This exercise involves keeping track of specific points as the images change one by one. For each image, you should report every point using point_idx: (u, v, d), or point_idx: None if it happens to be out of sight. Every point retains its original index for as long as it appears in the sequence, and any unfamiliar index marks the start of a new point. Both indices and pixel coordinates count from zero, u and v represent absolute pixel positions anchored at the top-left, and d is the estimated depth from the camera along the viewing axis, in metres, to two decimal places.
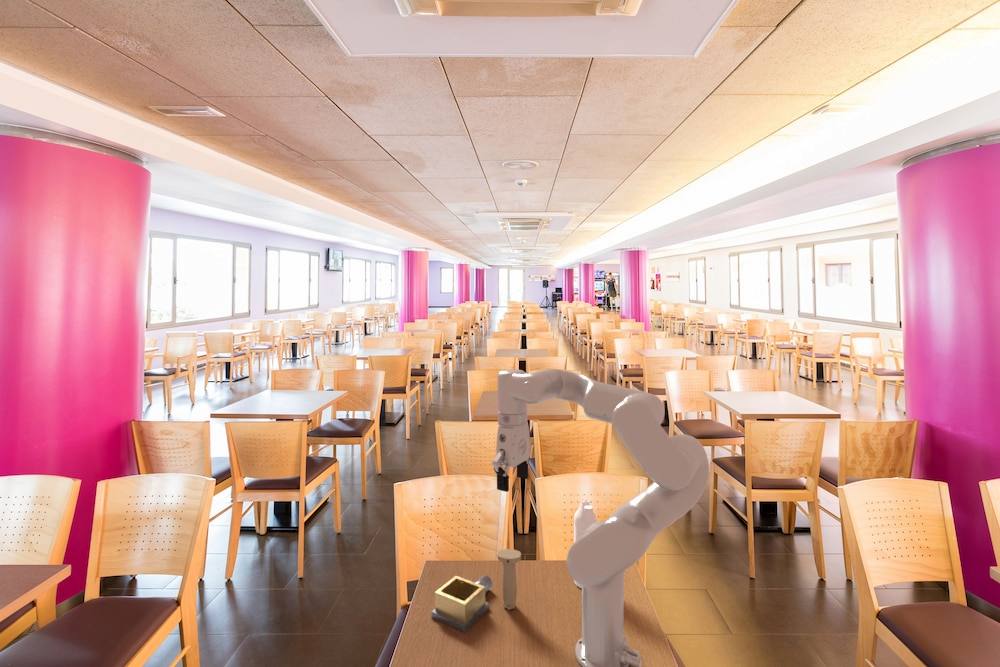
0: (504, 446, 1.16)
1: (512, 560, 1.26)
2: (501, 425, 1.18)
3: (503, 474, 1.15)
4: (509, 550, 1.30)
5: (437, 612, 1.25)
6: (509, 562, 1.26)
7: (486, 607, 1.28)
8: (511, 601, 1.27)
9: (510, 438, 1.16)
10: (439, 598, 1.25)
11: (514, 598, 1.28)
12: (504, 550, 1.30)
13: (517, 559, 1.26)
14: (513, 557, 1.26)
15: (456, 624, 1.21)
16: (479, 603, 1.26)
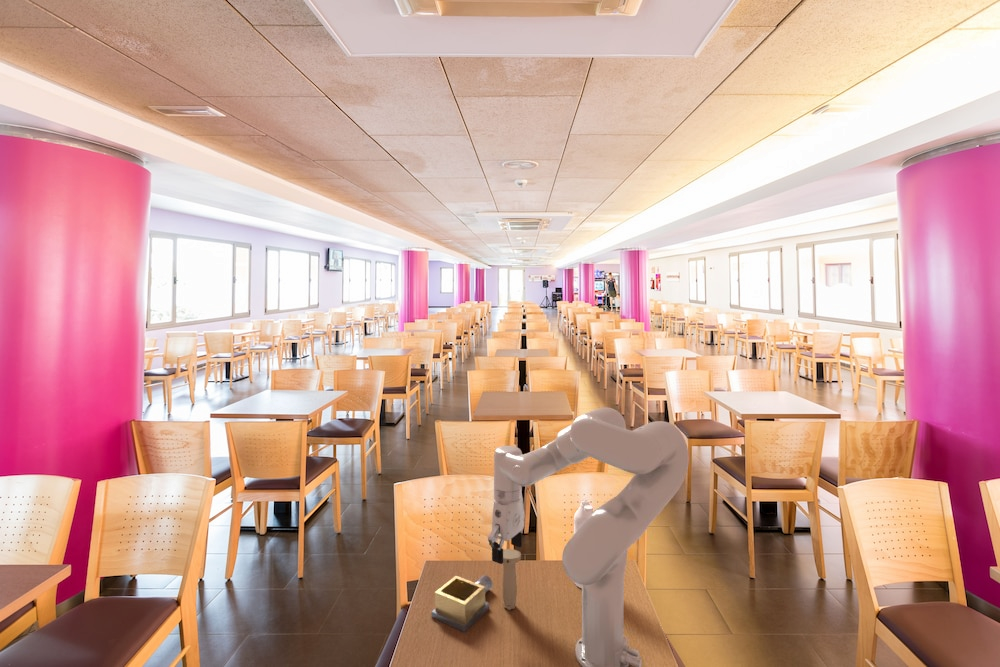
0: (499, 521, 1.23)
1: (512, 560, 1.26)
2: (497, 500, 1.25)
3: (498, 548, 1.23)
4: (509, 550, 1.30)
5: (437, 612, 1.25)
6: (509, 562, 1.26)
7: (486, 607, 1.28)
8: (511, 601, 1.27)
9: (505, 514, 1.23)
10: (439, 598, 1.25)
11: (514, 598, 1.28)
12: (504, 550, 1.30)
13: (517, 559, 1.26)
14: (513, 557, 1.26)
15: (456, 624, 1.21)
16: (479, 603, 1.26)
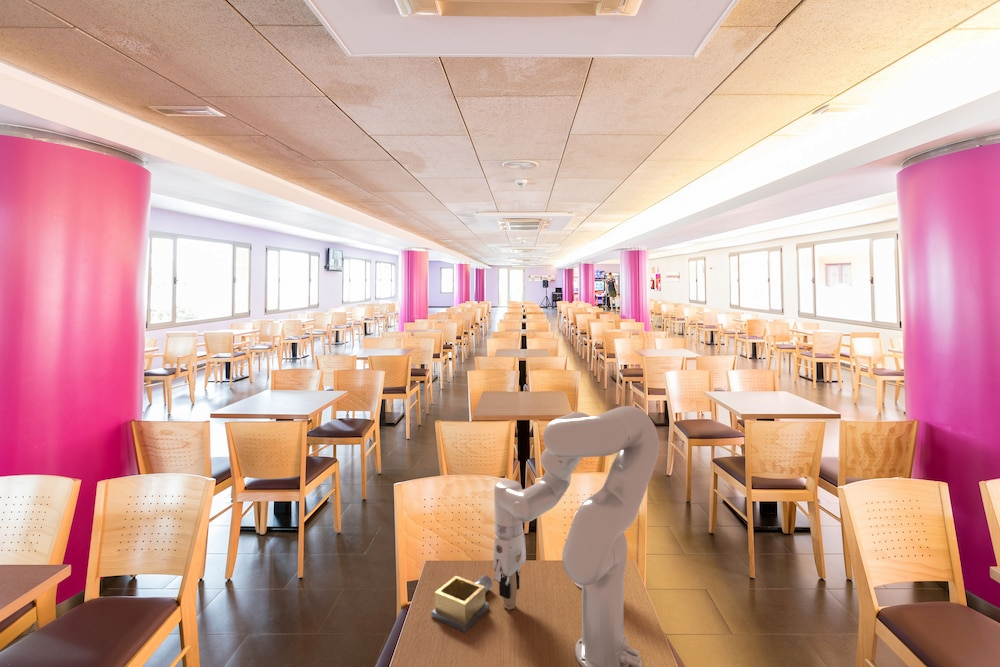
0: (501, 557, 1.24)
1: None
2: (498, 536, 1.26)
3: (505, 584, 1.25)
4: None
5: (437, 612, 1.25)
6: None
7: (486, 607, 1.28)
8: (511, 601, 1.27)
9: (506, 550, 1.23)
10: (439, 598, 1.25)
11: (514, 598, 1.28)
12: None
13: (517, 559, 1.26)
14: None
15: (456, 624, 1.21)
16: (479, 603, 1.26)
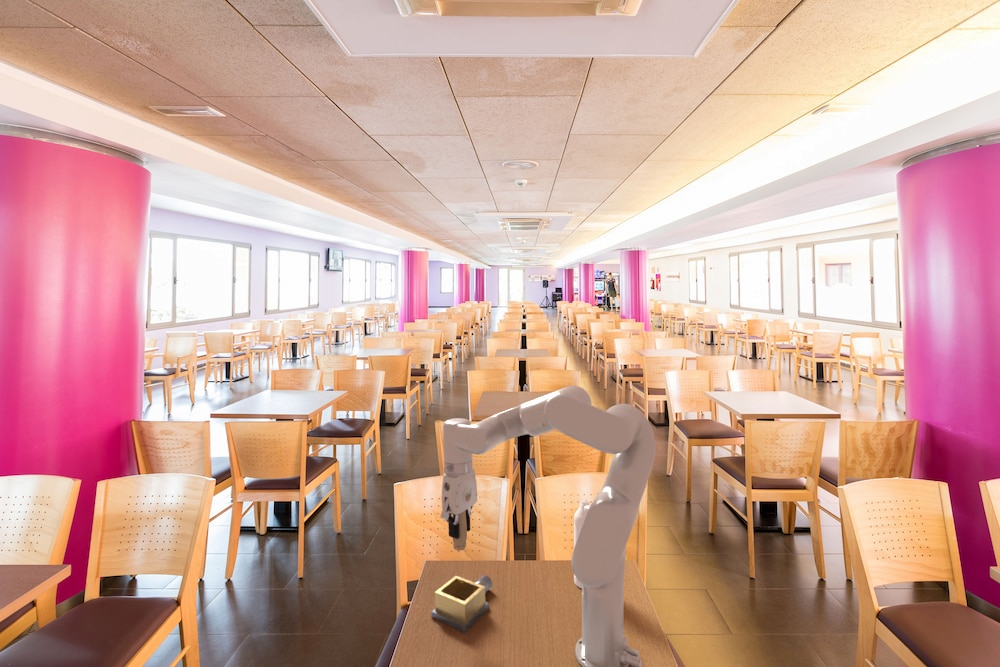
0: (448, 494, 1.20)
1: None
2: (446, 473, 1.22)
3: (453, 524, 1.22)
4: None
5: (437, 612, 1.25)
6: None
7: (486, 607, 1.28)
8: (460, 542, 1.24)
9: (454, 487, 1.20)
10: (439, 598, 1.25)
11: (464, 539, 1.25)
12: None
13: (466, 498, 1.23)
14: None
15: (456, 624, 1.21)
16: (479, 603, 1.26)
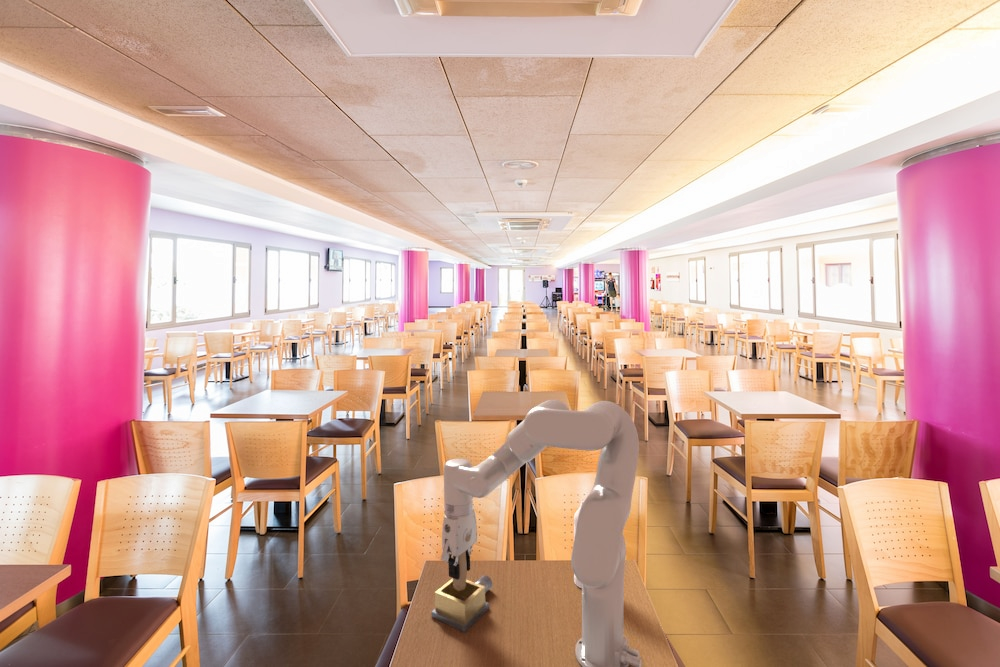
0: (448, 536, 1.21)
1: None
2: (446, 515, 1.23)
3: (454, 565, 1.23)
4: None
5: (437, 612, 1.25)
6: None
7: (486, 607, 1.28)
8: (460, 582, 1.25)
9: (454, 529, 1.21)
10: (439, 598, 1.25)
11: (463, 579, 1.25)
12: None
13: (466, 539, 1.24)
14: None
15: (456, 624, 1.21)
16: (479, 603, 1.26)
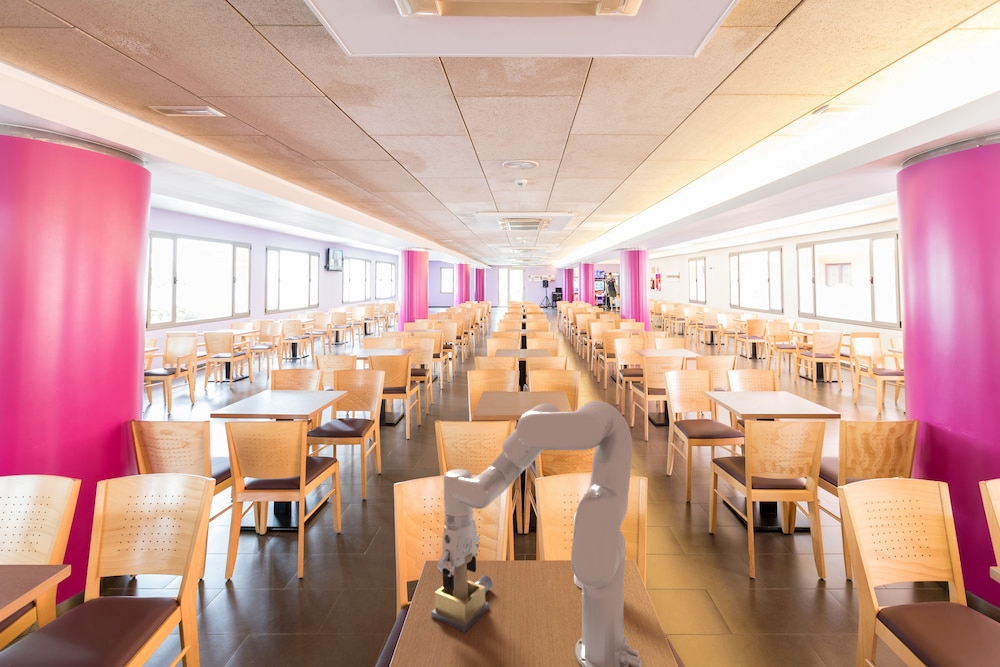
0: (449, 547, 1.21)
1: None
2: (447, 525, 1.23)
3: (448, 575, 1.21)
4: None
5: (437, 612, 1.25)
6: None
7: (486, 607, 1.28)
8: None
9: (454, 540, 1.21)
10: (439, 598, 1.25)
11: (465, 599, 1.25)
12: None
13: (467, 559, 1.24)
14: None
15: (456, 624, 1.21)
16: (479, 603, 1.26)
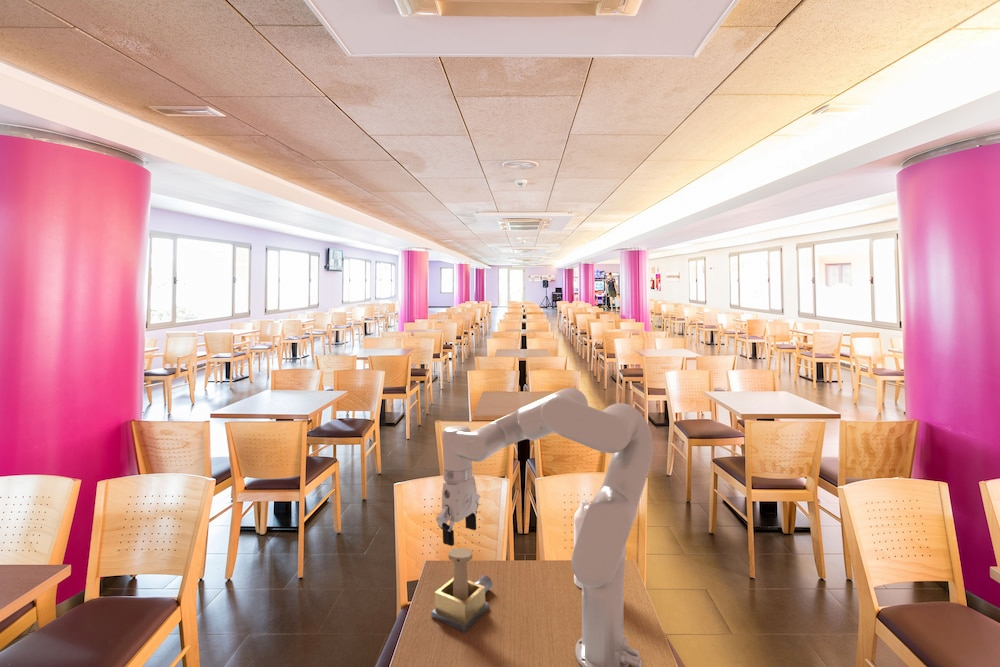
0: (448, 502, 1.20)
1: (462, 559, 1.24)
2: (446, 481, 1.22)
3: (447, 529, 1.20)
4: (462, 549, 1.28)
5: (437, 612, 1.25)
6: (459, 561, 1.24)
7: (486, 607, 1.28)
8: None
9: (454, 494, 1.20)
10: (439, 598, 1.25)
11: (465, 598, 1.26)
12: (456, 549, 1.28)
13: (468, 558, 1.24)
14: (464, 556, 1.24)
15: (456, 624, 1.21)
16: (479, 603, 1.26)
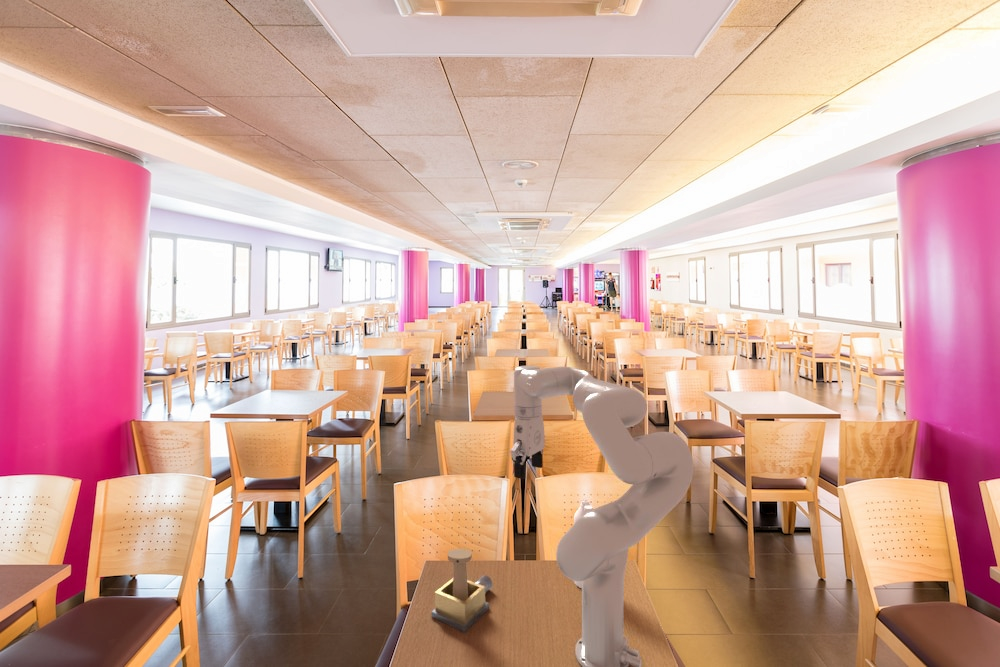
0: (521, 437, 1.25)
1: (462, 560, 1.24)
2: (518, 417, 1.27)
3: (520, 462, 1.24)
4: (461, 550, 1.28)
5: (437, 612, 1.25)
6: (459, 562, 1.24)
7: (486, 607, 1.28)
8: None
9: (526, 429, 1.25)
10: (439, 598, 1.25)
11: (465, 599, 1.25)
12: (455, 550, 1.28)
13: (467, 559, 1.24)
14: (463, 557, 1.24)
15: (456, 624, 1.21)
16: (479, 603, 1.26)
